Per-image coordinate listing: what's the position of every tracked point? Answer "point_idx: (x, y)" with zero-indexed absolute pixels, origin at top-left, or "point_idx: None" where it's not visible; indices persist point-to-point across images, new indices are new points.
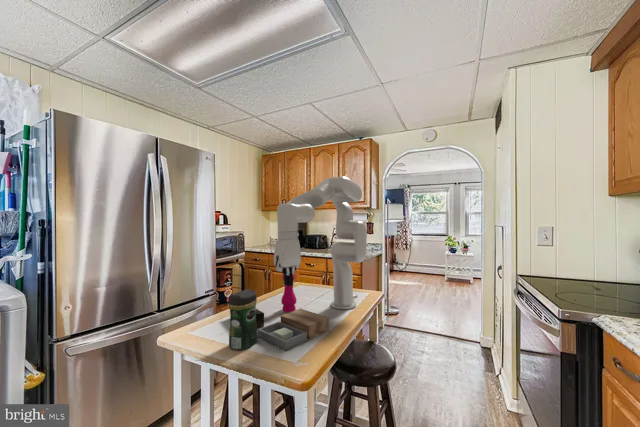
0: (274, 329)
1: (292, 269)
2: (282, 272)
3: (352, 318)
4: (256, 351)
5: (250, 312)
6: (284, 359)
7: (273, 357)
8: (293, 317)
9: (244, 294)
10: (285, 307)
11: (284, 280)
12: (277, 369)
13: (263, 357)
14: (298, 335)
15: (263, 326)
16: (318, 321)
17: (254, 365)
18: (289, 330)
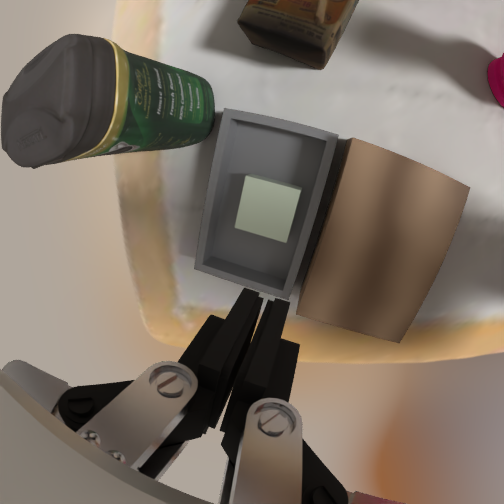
0: (305, 135)
1: (220, 497)
2: (108, 395)
3: (484, 339)
4: (164, 181)
5: (94, 156)
6: (175, 276)
7: (166, 245)
8: (357, 212)
9: (19, 141)
10: (499, 74)
11: (200, 333)
12: (141, 281)
13: (154, 222)
14: (252, 285)
15: (319, 69)
16: (349, 328)
17: (123, 226)
18: (285, 227)
